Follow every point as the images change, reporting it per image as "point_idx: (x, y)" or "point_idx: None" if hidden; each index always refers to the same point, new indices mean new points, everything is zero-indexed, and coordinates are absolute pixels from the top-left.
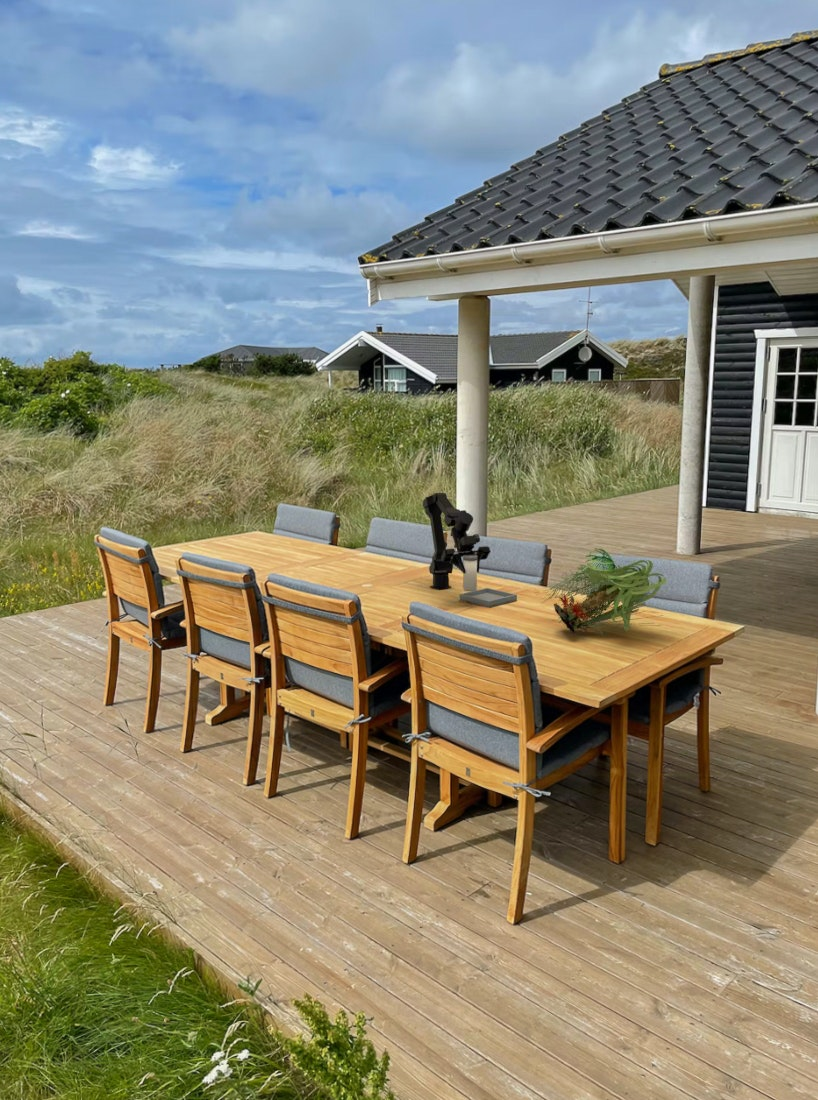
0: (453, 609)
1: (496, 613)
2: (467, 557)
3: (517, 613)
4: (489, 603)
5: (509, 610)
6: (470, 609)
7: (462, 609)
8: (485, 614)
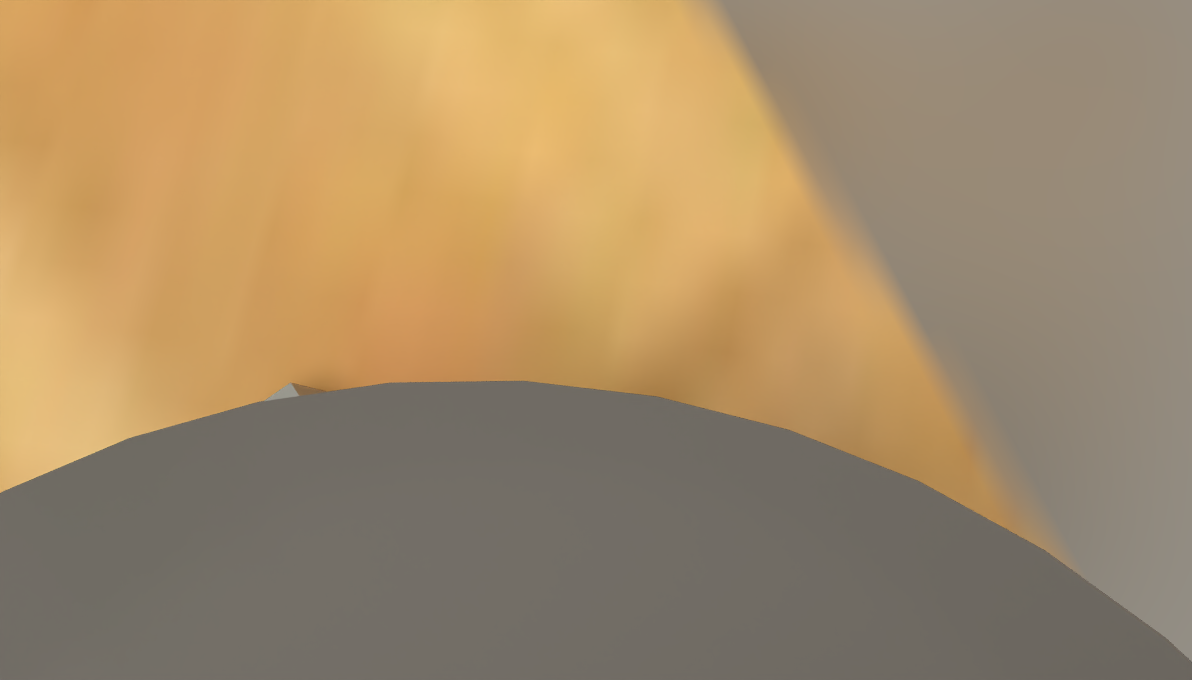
0: (899, 372)
1: (301, 64)
2: (1011, 537)
3: (8, 28)
4: (298, 388)
5: (68, 201)
6: (634, 336)
7: (758, 353)
8: (470, 32)
